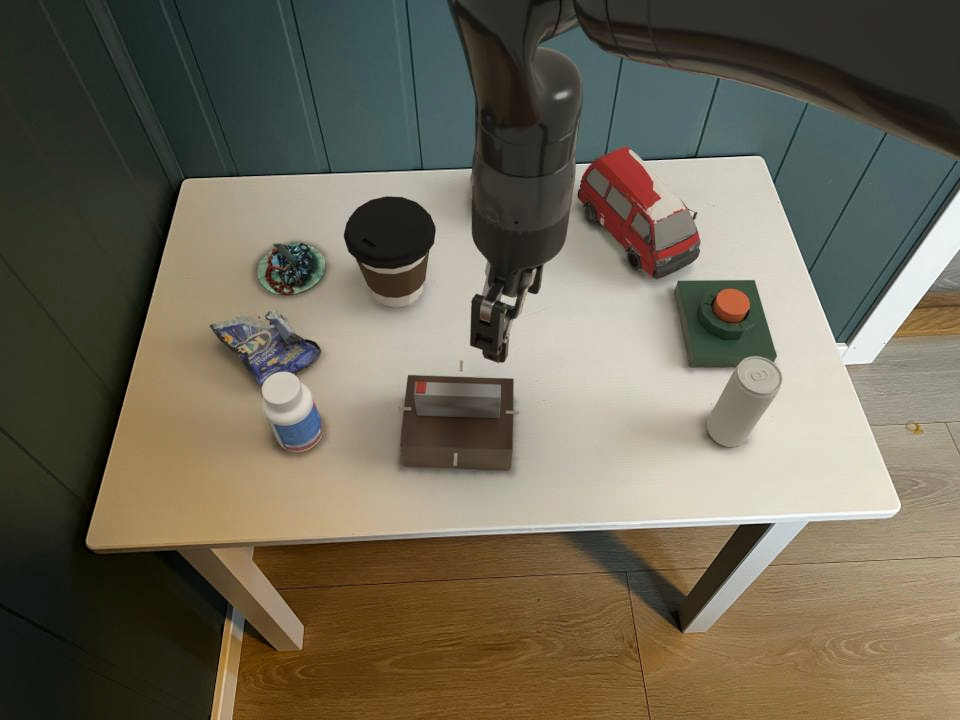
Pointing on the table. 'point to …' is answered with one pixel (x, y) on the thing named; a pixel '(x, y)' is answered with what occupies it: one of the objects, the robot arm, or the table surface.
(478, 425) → the base
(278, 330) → the snack package
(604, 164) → the toy car
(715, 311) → the button
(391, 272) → the coffee cup
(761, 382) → the beverage can
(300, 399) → the pill bottle
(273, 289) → the dish
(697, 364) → the green button base
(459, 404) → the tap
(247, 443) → the table surface
